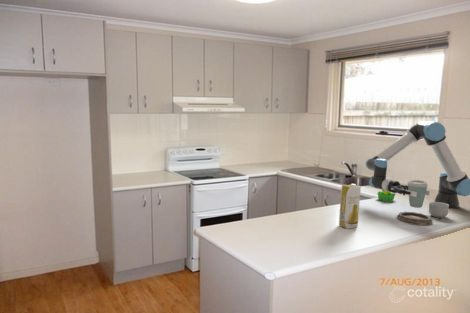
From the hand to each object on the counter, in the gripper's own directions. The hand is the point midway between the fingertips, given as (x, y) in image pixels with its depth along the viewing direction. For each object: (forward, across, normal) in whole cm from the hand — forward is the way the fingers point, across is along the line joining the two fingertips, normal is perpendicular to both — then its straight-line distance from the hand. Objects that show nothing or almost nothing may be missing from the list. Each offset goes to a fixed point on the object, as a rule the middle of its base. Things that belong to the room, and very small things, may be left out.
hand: (422, 193), depth 215 cm
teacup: (-5, -22, -17) cm, 28 cm away
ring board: (-4, 0, -17) cm, 17 cm away
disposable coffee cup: (-4, 0, -9) cm, 10 cm away
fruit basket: (-45, -23, -17) cm, 53 cm away
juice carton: (-9, +47, -17) cm, 51 cm away
